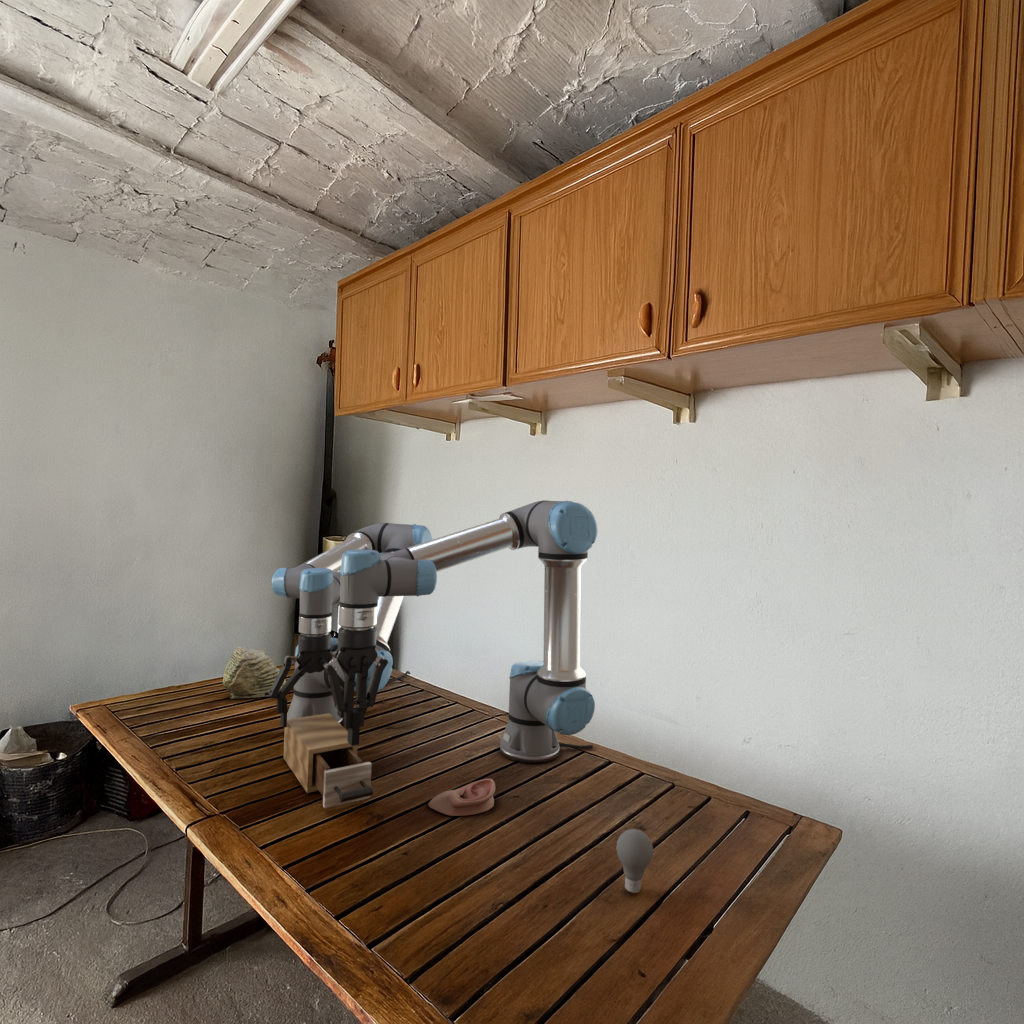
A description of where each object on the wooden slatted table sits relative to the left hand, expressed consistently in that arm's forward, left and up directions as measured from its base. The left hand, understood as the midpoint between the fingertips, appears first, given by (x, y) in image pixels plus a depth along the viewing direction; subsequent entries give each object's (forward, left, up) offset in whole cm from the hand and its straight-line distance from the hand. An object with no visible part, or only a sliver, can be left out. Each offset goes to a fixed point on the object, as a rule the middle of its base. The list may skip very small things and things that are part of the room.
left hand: (312, 720), depth 152 cm
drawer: (+7, +20, -8) cm, 22 cm away
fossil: (-15, -54, -9) cm, 57 cm away
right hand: (+9, +28, +5) cm, 29 cm away
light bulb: (-6, +83, -9) cm, 84 cm away
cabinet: (+2, +6, -9) cm, 11 cm away
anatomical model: (-9, +42, -9) cm, 44 cm away
